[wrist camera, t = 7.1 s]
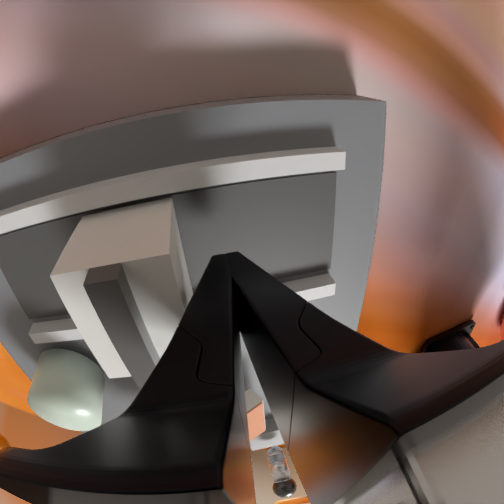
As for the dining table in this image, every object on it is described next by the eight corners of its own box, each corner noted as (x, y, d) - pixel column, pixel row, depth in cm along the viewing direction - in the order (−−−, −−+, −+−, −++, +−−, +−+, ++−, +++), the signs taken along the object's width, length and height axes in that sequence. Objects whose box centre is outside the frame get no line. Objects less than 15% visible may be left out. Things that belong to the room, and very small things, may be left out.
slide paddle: (171, 197, 9) (168, 270, 6) (194, 298, 11) (204, 383, 8) (82, 216, 9) (42, 292, 6) (118, 310, 11) (107, 394, 8)
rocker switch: (247, 383, 15) (264, 399, 14) (252, 416, 17) (266, 430, 16) (129, 454, 11) (141, 475, 10) (156, 476, 13) (168, 493, 12)
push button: (86, 345, 11) (77, 390, 9) (116, 390, 13) (114, 430, 11) (25, 350, 11) (13, 390, 9) (60, 393, 13) (54, 429, 11)
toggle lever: (286, 443, 17) (300, 495, 15) (284, 444, 19) (297, 492, 16) (262, 449, 17) (276, 501, 15) (261, 449, 18) (274, 497, 16)
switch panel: (357, 95, 11) (441, 116, 7) (321, 406, 23) (340, 453, 19) (-49, 182, 8) (-112, 234, 4) (114, 439, 21) (115, 488, 17)
